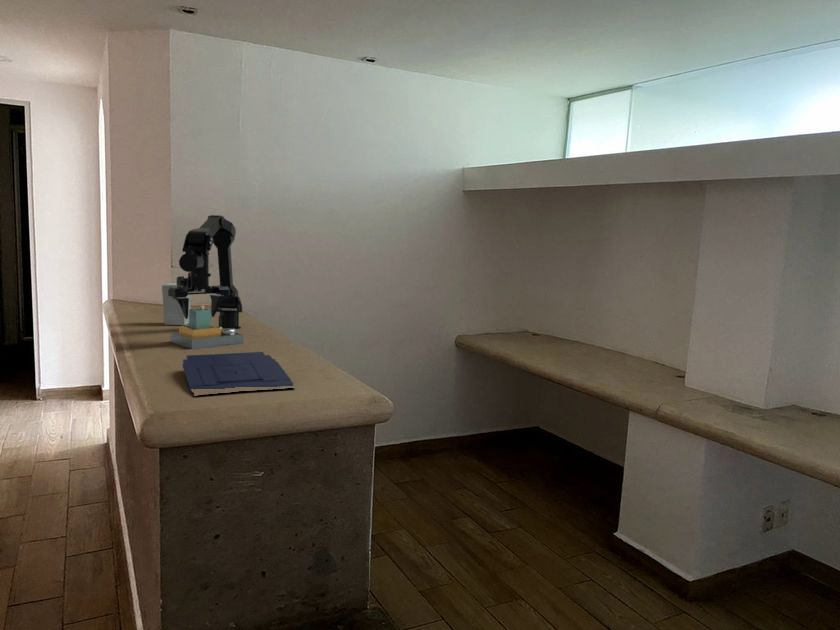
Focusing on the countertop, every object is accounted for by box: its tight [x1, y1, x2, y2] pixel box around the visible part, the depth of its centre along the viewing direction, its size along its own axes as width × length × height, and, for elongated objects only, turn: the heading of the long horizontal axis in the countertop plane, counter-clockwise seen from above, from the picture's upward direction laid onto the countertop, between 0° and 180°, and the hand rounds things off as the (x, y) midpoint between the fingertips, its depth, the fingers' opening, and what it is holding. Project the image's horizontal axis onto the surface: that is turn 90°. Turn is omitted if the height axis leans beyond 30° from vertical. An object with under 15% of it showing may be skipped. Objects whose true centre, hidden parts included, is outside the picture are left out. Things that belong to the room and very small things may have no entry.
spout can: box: [188, 305, 212, 330], centre depth 213 cm, size 5×5×10 cm
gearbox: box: [170, 324, 244, 350], centre depth 215 cm, size 18×15×6 cm
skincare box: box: [161, 282, 192, 326], centre depth 249 cm, size 8×7×16 cm
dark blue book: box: [182, 351, 294, 391], centre depth 167 cm, size 24×30×4 cm
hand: (199, 317), depth 212 cm, fingers open, 9 cm apart
